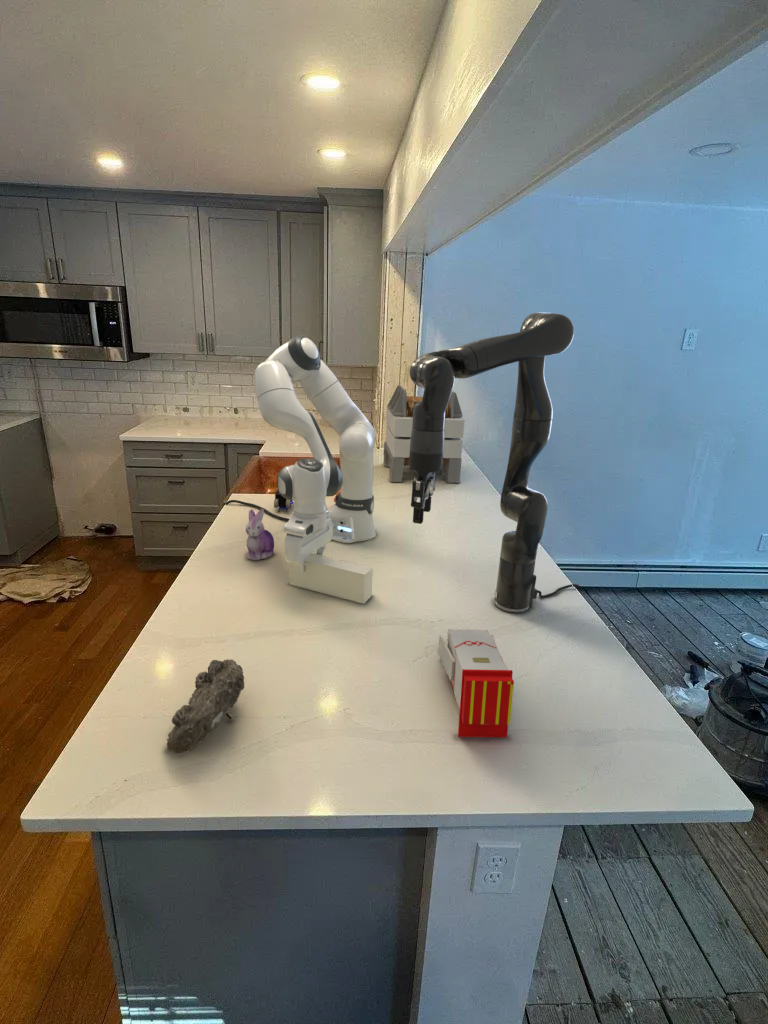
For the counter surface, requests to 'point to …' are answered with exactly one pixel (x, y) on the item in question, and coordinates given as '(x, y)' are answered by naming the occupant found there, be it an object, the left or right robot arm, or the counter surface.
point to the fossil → (206, 705)
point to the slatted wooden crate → (400, 433)
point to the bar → (334, 577)
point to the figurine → (258, 537)
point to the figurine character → (282, 502)
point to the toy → (478, 682)
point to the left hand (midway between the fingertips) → (310, 565)
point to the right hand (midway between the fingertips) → (421, 516)
